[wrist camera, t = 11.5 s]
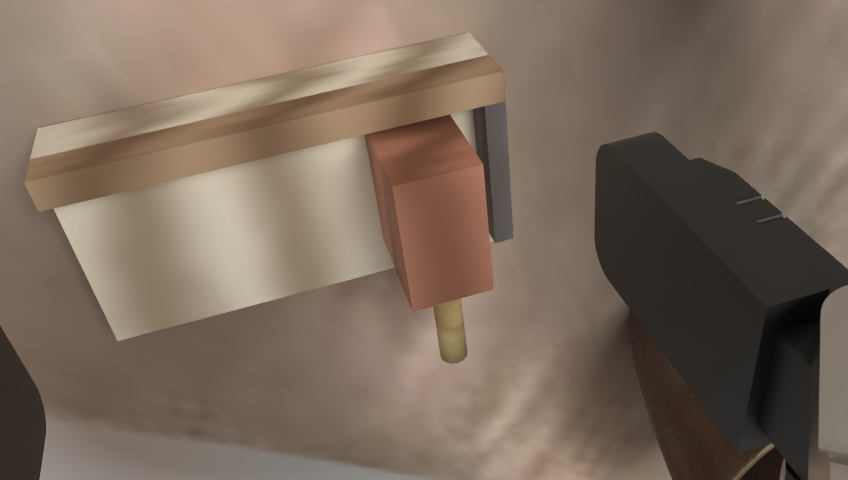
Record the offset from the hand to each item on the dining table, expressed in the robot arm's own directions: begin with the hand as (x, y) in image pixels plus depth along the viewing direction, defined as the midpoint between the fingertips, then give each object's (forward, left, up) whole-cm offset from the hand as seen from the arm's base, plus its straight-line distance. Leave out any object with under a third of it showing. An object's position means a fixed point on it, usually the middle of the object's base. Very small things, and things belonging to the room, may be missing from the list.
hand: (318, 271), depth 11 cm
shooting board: (0, +15, -28) cm, 32 cm away
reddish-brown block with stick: (-6, +18, -25) cm, 31 cm away
